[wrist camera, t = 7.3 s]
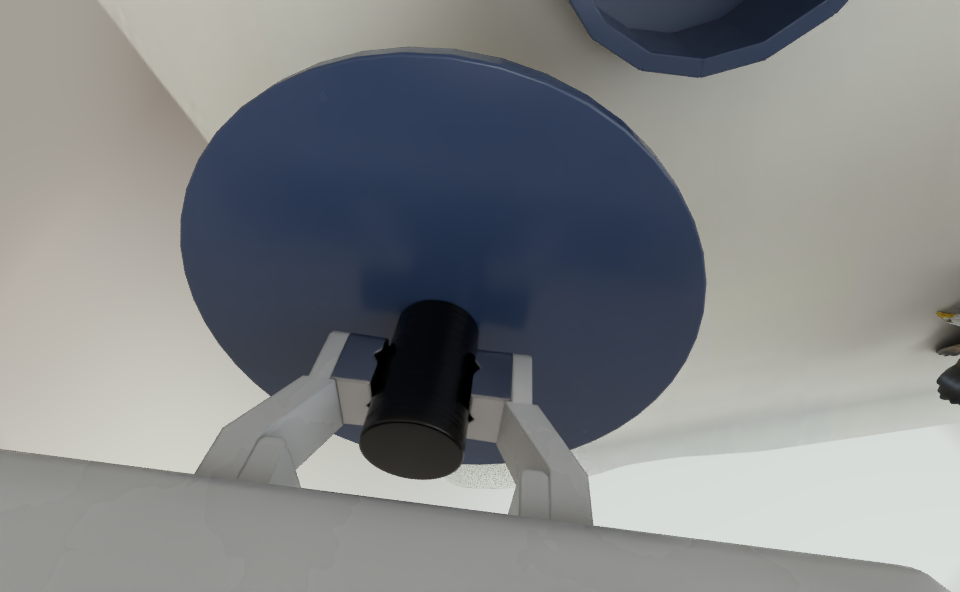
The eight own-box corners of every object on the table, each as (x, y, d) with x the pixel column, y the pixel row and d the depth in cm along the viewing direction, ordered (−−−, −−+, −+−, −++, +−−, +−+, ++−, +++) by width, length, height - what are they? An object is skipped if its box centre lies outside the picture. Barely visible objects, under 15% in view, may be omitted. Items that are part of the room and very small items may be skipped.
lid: (805, 84, 9) (1004, 201, 5) (611, 458, 19) (633, 603, 15) (116, 0, 10) (-181, 55, 6) (263, 414, 19) (191, 545, 15)
